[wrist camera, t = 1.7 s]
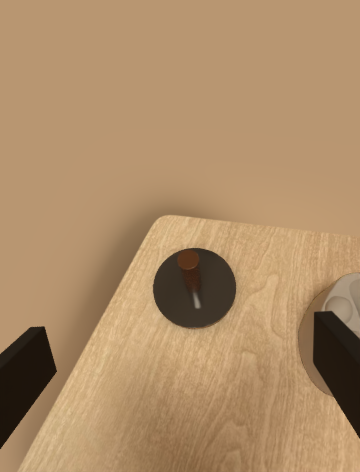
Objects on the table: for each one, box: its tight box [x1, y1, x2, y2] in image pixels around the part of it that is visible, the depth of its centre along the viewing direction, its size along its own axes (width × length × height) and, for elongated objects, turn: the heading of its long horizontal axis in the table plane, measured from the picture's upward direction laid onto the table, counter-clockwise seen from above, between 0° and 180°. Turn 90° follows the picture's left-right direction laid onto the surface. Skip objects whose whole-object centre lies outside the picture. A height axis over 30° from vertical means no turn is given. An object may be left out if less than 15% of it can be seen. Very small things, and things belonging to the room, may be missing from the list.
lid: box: [153, 248, 236, 329], centre depth 33 cm, size 13×13×10 cm
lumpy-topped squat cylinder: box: [298, 273, 360, 397], centre depth 27 cm, size 10×13×9 cm
